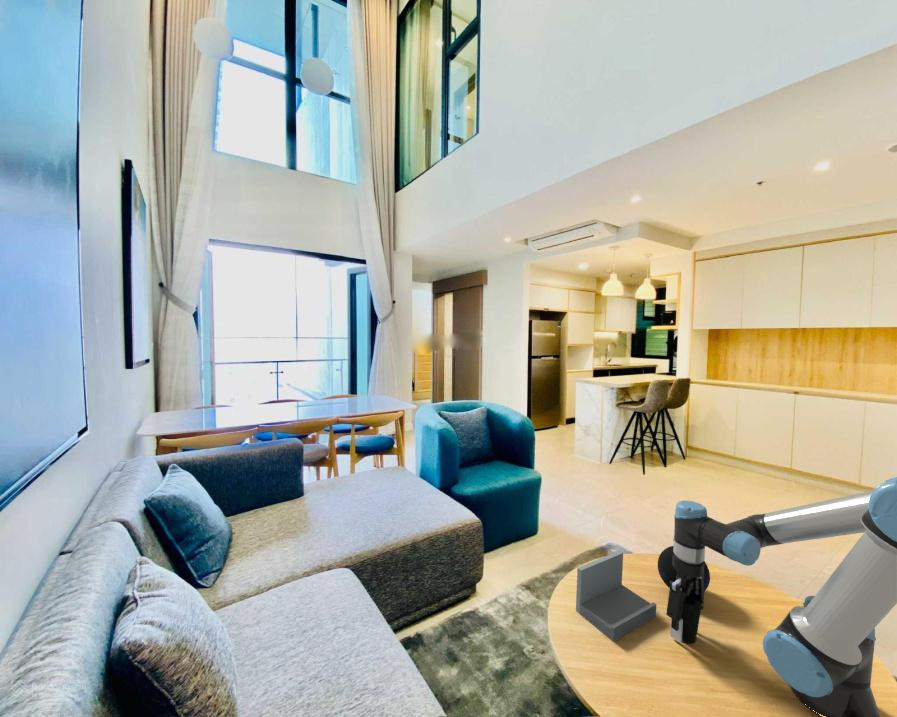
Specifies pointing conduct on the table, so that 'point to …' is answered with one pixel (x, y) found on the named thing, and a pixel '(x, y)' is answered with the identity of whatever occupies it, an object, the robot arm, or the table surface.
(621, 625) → the shelf
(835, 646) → the robot arm
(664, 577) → the decorative sphere
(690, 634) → the cup
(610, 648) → the table surface
